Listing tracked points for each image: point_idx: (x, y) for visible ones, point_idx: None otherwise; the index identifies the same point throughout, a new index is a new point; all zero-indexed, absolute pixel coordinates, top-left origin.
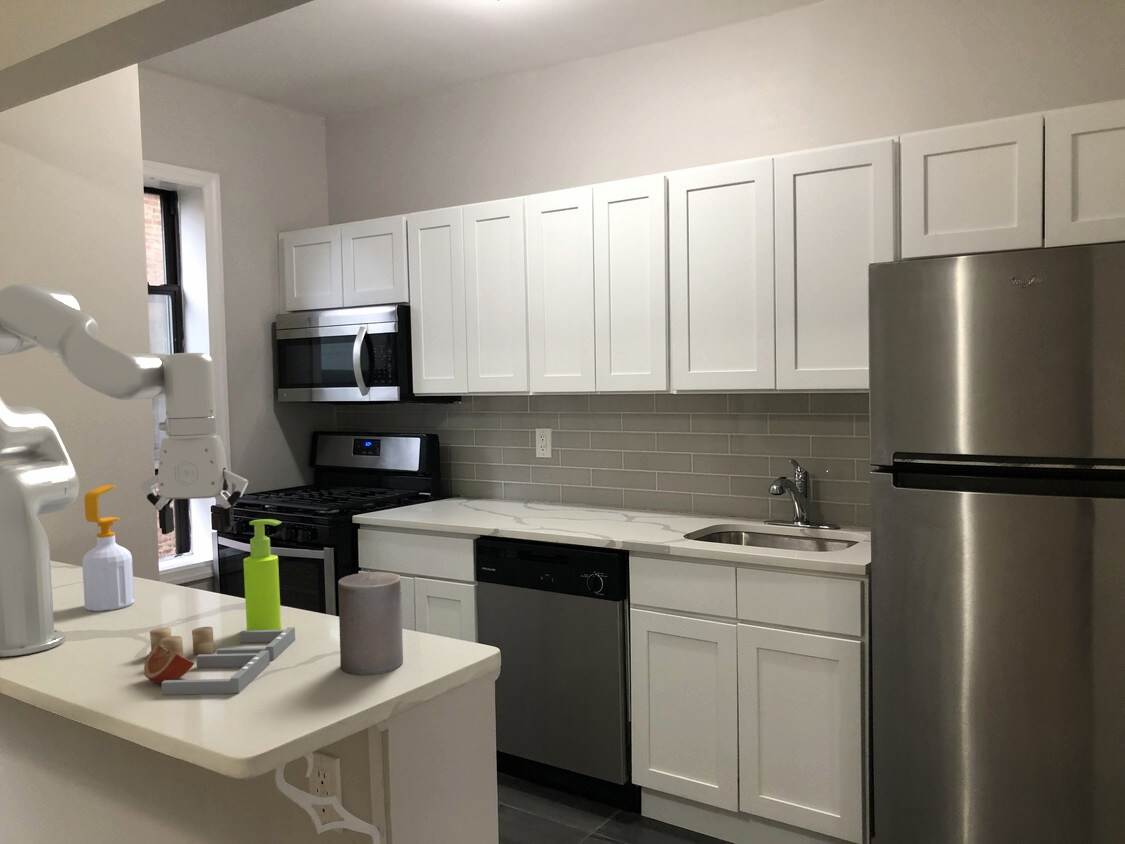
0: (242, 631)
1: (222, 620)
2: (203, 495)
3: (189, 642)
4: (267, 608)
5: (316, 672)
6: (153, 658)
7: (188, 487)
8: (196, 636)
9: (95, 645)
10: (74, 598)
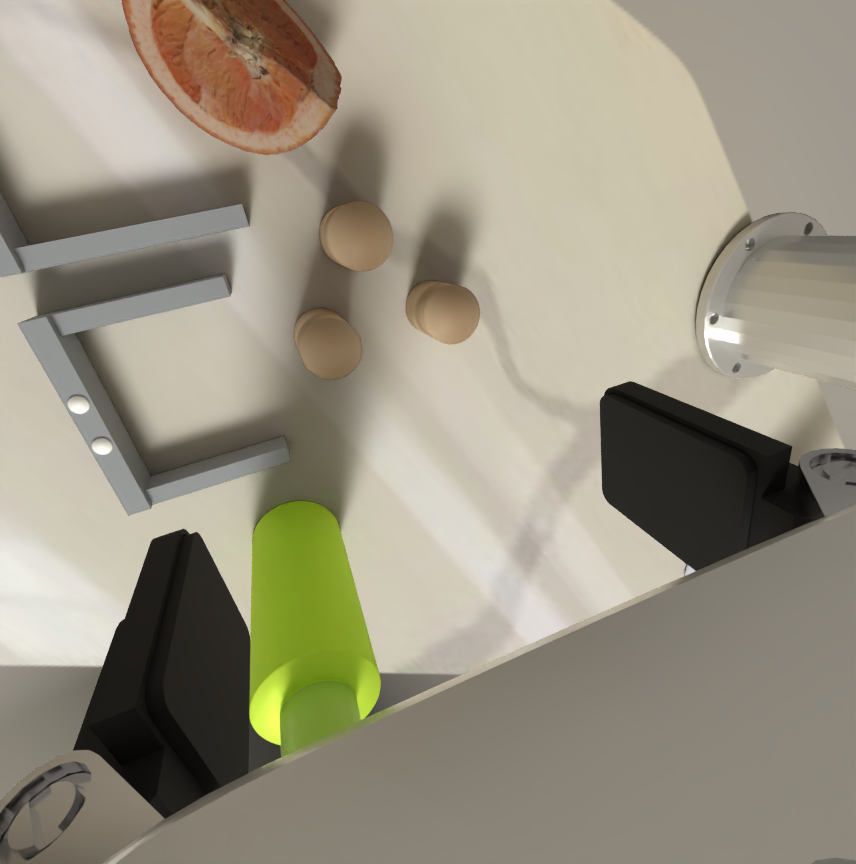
0: (282, 455)
1: (450, 561)
2: (302, 781)
3: (422, 406)
4: (262, 558)
5: None
6: (296, 46)
7: (754, 837)
8: (327, 316)
9: (623, 337)
10: None
